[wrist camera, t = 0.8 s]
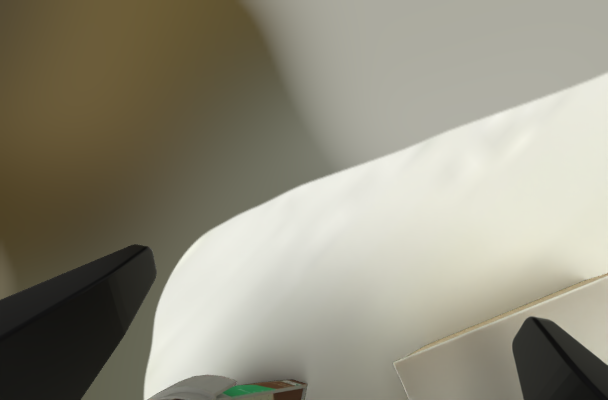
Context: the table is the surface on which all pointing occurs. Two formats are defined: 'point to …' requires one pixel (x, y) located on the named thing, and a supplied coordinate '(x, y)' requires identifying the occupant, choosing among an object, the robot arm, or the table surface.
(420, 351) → the carton
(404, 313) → the table surface
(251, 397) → the food container
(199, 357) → the table surface
